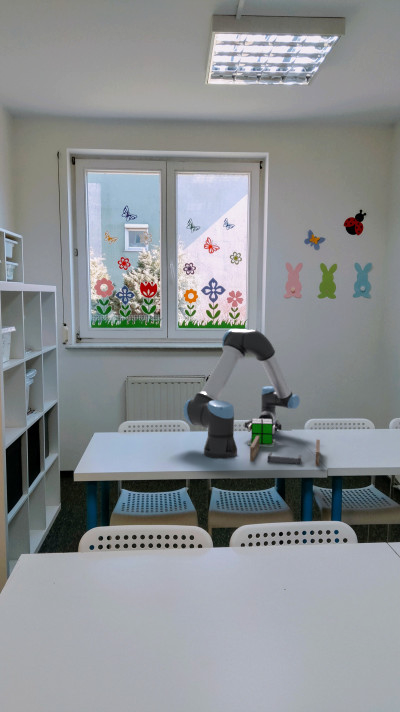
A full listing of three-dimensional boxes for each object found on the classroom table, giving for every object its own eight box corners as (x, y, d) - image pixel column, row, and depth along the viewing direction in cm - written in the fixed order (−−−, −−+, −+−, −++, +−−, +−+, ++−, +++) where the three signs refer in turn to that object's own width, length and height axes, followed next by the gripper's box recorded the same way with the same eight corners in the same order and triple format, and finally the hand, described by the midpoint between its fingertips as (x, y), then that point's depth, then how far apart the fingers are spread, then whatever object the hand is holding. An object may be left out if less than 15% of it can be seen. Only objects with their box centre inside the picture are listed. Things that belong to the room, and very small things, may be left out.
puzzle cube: (271, 438, 248) (272, 418, 247) (272, 444, 238) (272, 423, 237) (251, 438, 249) (251, 418, 248) (251, 443, 239) (251, 423, 238)
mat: (247, 445, 239) (247, 444, 239) (251, 438, 251) (251, 437, 251) (272, 447, 236) (272, 446, 236) (275, 440, 248) (275, 439, 248)
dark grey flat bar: (267, 462, 214) (267, 456, 214) (268, 458, 219) (268, 452, 219) (300, 464, 211) (300, 459, 210) (301, 460, 216) (301, 455, 216)
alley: (250, 460, 216) (250, 447, 215) (256, 447, 235) (256, 435, 235) (319, 466, 209) (319, 452, 208) (319, 452, 228) (319, 439, 228)
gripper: (288, 428, 258) (285, 439, 236) (244, 425, 263) (236, 436, 242) (288, 413, 257) (285, 423, 236) (244, 411, 262) (237, 420, 241)
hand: (260, 430), depth 239 cm, fingers closed on puzzle cube, 11 cm apart
